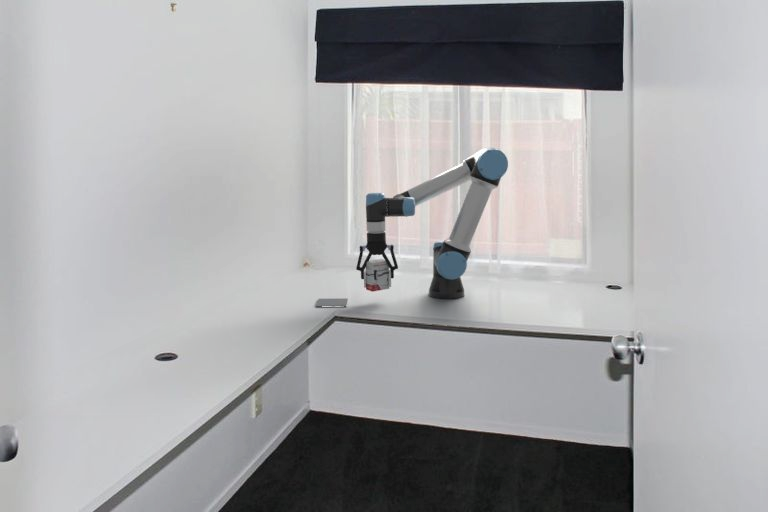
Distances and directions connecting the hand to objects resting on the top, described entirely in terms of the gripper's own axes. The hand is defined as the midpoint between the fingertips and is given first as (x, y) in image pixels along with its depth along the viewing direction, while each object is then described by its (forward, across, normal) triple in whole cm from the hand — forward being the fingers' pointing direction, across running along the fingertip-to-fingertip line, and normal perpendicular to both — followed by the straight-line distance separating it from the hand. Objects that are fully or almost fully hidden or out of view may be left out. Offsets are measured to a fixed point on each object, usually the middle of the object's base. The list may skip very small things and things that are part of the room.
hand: (377, 286), depth 249 cm
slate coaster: (+6, +19, +1) cm, 20 cm away
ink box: (+1, 0, 0) cm, 1 cm away
